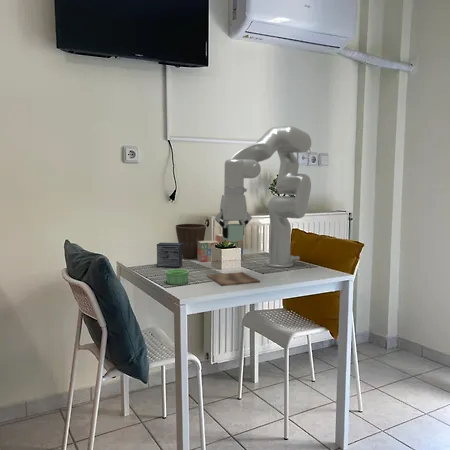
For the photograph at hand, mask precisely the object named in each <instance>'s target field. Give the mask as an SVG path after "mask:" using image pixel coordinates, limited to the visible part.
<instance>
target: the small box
mask: <svg viewBox="0 0 450 450" xmlns="http://www.w3.org/2000/svg"><path fill="white" fill-rule="evenodd" d="M182 266H183V255H182V243H178V242H158V243H157V244H156V267H157V268H160V267H165V268H166V269H168V268H169V269H181V267H182ZM165 268H164V269H165Z"/></svg>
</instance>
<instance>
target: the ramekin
mask: <svg viewBox="0 0 450 450" xmlns="http://www.w3.org/2000/svg"><path fill="white" fill-rule="evenodd" d="M189 273H190V270H188V269H183V268H170V269H167V270H165V278H166V283H167V284H168V285H172V284H173V285H175V286H176V285H177V286H179V285H185V284H187V283H188V281H189Z"/></svg>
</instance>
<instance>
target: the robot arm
mask: <svg viewBox="0 0 450 450" xmlns="http://www.w3.org/2000/svg"><path fill="white" fill-rule="evenodd" d="M311 147H312V139H311V136H310V135H309V134H308V133H307V132H305V131H303V130H301V129H300V128H297V127H296V126H292V125H288V126H274V127H271V128H269V129H268V130H267V131H266V132H265V133H264V134H263V135H262V136H261V137H260V138H259V139H258V140H257V141H256V142H255V143H253V144H251V145H248V146H246V147H244V148H242V149H240V150H239V151H236V153H234V155H232V156H231V158H230V159H226V160H225V162H224V175H223V176H224V177H223V178H224V182H223V185H224V187H223V189H224V190H223V193H224V194H221V198H220V199H221V200H220V204H219V213H218V214H217V215H216V216H215V217H214V220H215V221H216V222H217V223H218V224H219V225H220V227H221V228H222V233H221V234H222V235H223V237H224V238H228V228H227V225H228V224H229V222H231V221H232V222H234V221H235V222H236V221H238V224H240V225H244V228H246V226H247V225H248V224H249V222H251V220H252V219H253V217H252V216H251V215H250V213H249V212H248V209H247V208H248V207H247V199H246V195H245V193H247V191H248V189H247V188H245V184H244V183H245V181H244V180H245V179H255V178H257V177H259V175H260V173H261V167H262V166H261V164H260V163H259V162H264V161H266V160H268V159H270V158H271V157H272V156H273V155H274V154H275V153H276V152H277V155H278V158H279V163H280V165H279V170H278V176H277V180H276V185H275V188H276V192H278V193H279V194H282V195H278V196H277V195H275V196H273V197H271V198H270V199H269V201H268V204H267V209H268V215H269V260H266V261H265V265H266V266H268V267H271V268H279V269H280V268H283V269H284V268H291V267H293V266H294V261H300V256H299V255H291V239H292V233H291V232H292V225H291V223H290V221H289V219H302V218H303V217H305V215H306V213H307V211H308V210H307V209H308V205H309V201H310V197H311V196H310V194H311V190H312V180H311V178H310V176H309V175H307V174H306V173H299V168H300V163H299V161H298V158H297V157H296V155H295V153H300V154H301V153H307V152H308V151H309V150H310V149H311ZM288 195H289V196H288ZM290 195H292V196H290ZM293 195H295V196H293Z"/></svg>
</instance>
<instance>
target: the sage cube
mask: <svg viewBox="0 0 450 450" xmlns="http://www.w3.org/2000/svg"><path fill="white" fill-rule="evenodd" d="M227 228H228V238H224V237H223V239H224V240H226V241H229V242H230V241H243V242H244V235H245V227H244V225H240V224H239V223H228V225H227Z"/></svg>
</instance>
